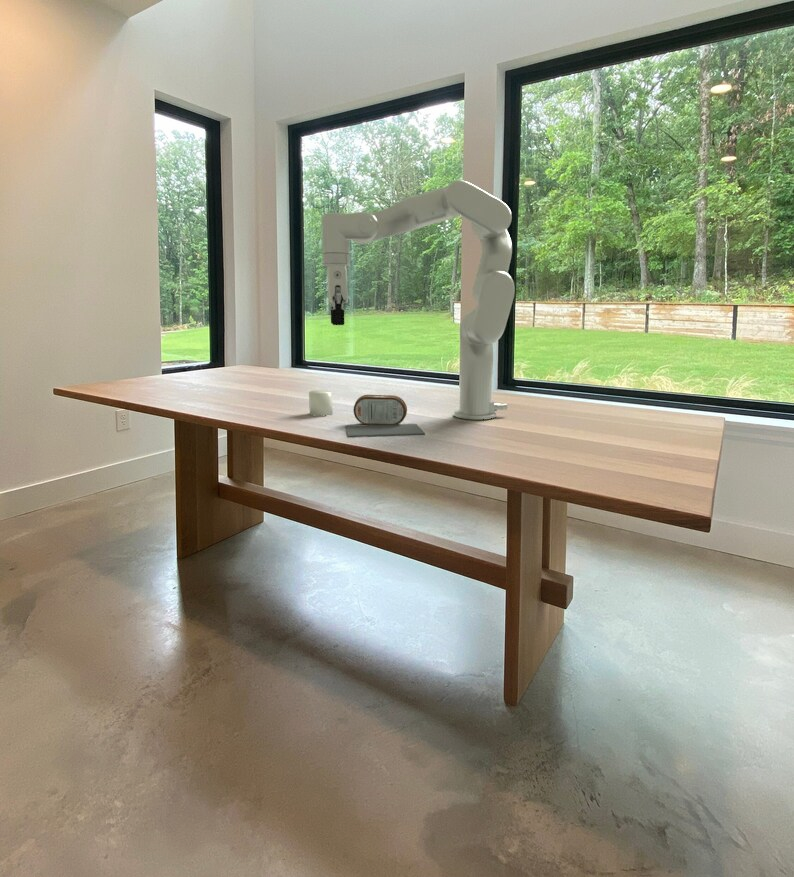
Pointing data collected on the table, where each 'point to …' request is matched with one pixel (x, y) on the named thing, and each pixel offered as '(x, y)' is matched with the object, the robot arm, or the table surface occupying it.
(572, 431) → the table surface
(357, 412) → the tin
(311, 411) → the white rounded cube
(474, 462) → the table surface
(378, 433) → the mat
